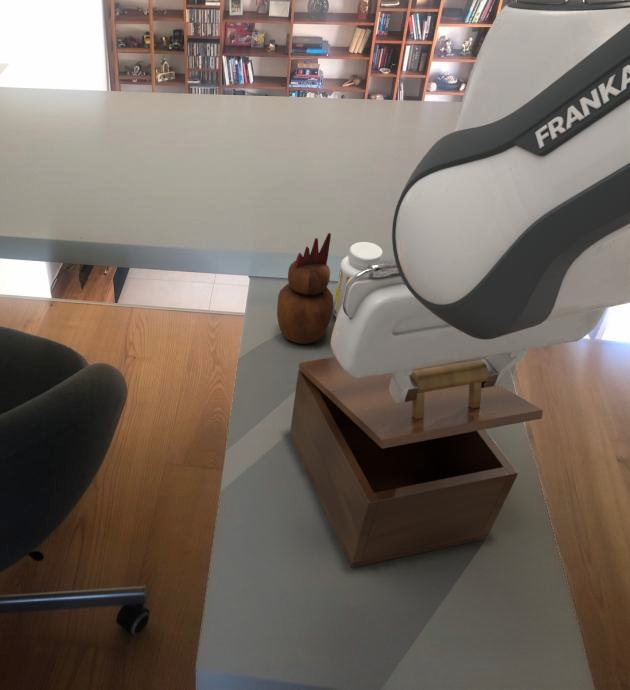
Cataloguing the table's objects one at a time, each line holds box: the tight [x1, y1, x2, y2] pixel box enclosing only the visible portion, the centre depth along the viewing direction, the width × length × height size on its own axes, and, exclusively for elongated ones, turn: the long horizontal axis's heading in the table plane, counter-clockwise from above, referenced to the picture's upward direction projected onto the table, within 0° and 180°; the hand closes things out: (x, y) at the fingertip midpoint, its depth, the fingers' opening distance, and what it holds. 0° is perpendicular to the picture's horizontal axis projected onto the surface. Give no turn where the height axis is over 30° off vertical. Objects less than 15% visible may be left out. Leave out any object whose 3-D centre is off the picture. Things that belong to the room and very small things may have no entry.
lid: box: [298, 356, 544, 449], centre depth 62 cm, size 18×14×5 cm
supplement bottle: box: [333, 241, 383, 319], centre depth 89 cm, size 6×6×10 cm
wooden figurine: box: [276, 232, 334, 345], centre depth 84 cm, size 7×6×15 cm
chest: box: [289, 369, 519, 568], centre depth 68 cm, size 17×14×10 cm
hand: (443, 389), depth 56 cm, fingers closed on lid, 6 cm apart
